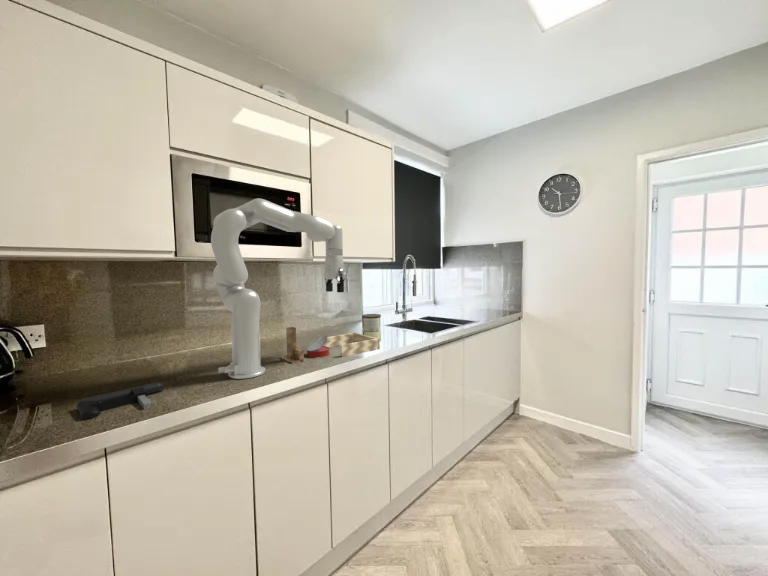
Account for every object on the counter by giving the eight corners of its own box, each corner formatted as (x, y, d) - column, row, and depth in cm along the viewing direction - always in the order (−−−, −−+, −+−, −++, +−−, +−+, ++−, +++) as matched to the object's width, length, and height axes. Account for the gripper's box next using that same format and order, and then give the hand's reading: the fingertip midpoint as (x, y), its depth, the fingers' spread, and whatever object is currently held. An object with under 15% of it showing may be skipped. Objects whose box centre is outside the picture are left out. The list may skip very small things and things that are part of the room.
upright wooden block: (292, 364, 131) (291, 330, 130) (280, 358, 140) (279, 326, 139) (303, 361, 134) (302, 328, 133) (291, 356, 143) (290, 325, 143)
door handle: (175, 394, 94) (160, 379, 104) (82, 417, 79) (75, 397, 89) (176, 404, 94) (160, 389, 105) (83, 430, 79) (75, 409, 90)
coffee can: (358, 340, 175) (358, 314, 174) (374, 338, 181) (374, 313, 180) (368, 343, 166) (368, 316, 166) (385, 341, 172) (384, 315, 171)
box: (342, 356, 141) (342, 345, 140) (318, 348, 157) (318, 338, 157) (379, 348, 154) (379, 338, 154) (354, 342, 171) (354, 332, 170)
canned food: (325, 367, 142) (323, 350, 137) (304, 364, 143) (301, 347, 138) (333, 350, 151) (332, 333, 146) (313, 347, 153) (311, 331, 148)
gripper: (317, 254, 147) (318, 291, 148) (336, 252, 134) (337, 292, 135) (331, 255, 152) (332, 291, 153) (351, 252, 139) (352, 292, 139)
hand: (334, 291), depth 144 cm, fingers open, 9 cm apart
